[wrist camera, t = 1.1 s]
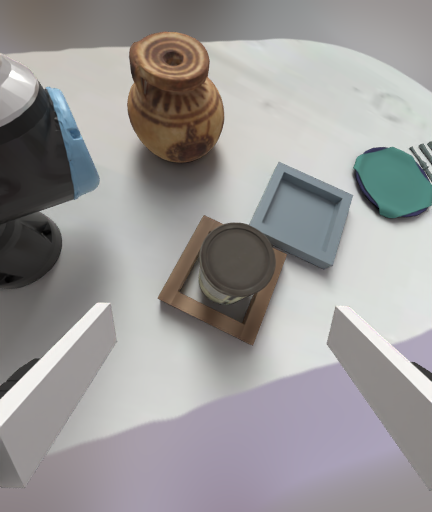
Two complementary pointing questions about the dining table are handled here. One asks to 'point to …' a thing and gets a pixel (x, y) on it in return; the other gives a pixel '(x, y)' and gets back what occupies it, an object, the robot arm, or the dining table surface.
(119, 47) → the dining table surface
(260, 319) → the wooden square frame
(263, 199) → the tray
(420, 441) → the robot arm
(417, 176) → the cutlery set
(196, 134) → the clay pot
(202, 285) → the coffee can
